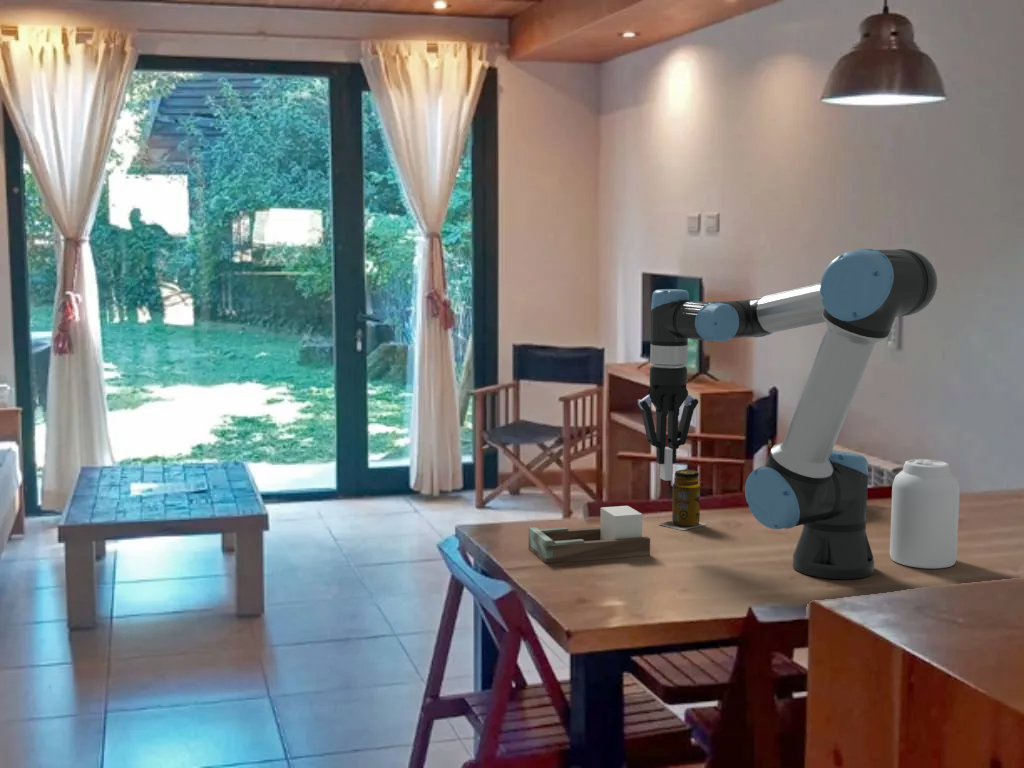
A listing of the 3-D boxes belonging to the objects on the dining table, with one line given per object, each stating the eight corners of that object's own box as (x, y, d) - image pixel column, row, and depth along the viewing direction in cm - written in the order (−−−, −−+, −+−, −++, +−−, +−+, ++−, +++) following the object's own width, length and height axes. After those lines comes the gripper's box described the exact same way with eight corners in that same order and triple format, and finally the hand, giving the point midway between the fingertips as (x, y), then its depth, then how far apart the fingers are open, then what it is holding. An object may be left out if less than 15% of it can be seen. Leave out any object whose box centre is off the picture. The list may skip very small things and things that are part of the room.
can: (876, 556, 240) (879, 458, 237) (927, 550, 244) (931, 454, 242) (918, 572, 228) (922, 469, 226) (970, 566, 232) (975, 465, 230)
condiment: (707, 524, 266) (708, 471, 265) (684, 531, 261) (684, 477, 259) (681, 519, 272) (682, 467, 270) (657, 525, 266) (658, 472, 264)
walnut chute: (649, 555, 241) (650, 533, 240) (545, 563, 235) (545, 541, 234) (628, 541, 252) (628, 520, 251) (528, 548, 246) (528, 527, 245)
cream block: (641, 548, 242) (642, 514, 241) (614, 550, 240) (614, 516, 239) (627, 538, 250) (627, 505, 249) (600, 540, 248) (600, 507, 247)
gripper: (690, 362, 249) (687, 473, 252) (631, 364, 245) (629, 477, 248) (705, 366, 241) (702, 481, 245) (645, 368, 238) (643, 484, 241)
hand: (665, 479), depth 246 cm, fingers closed
